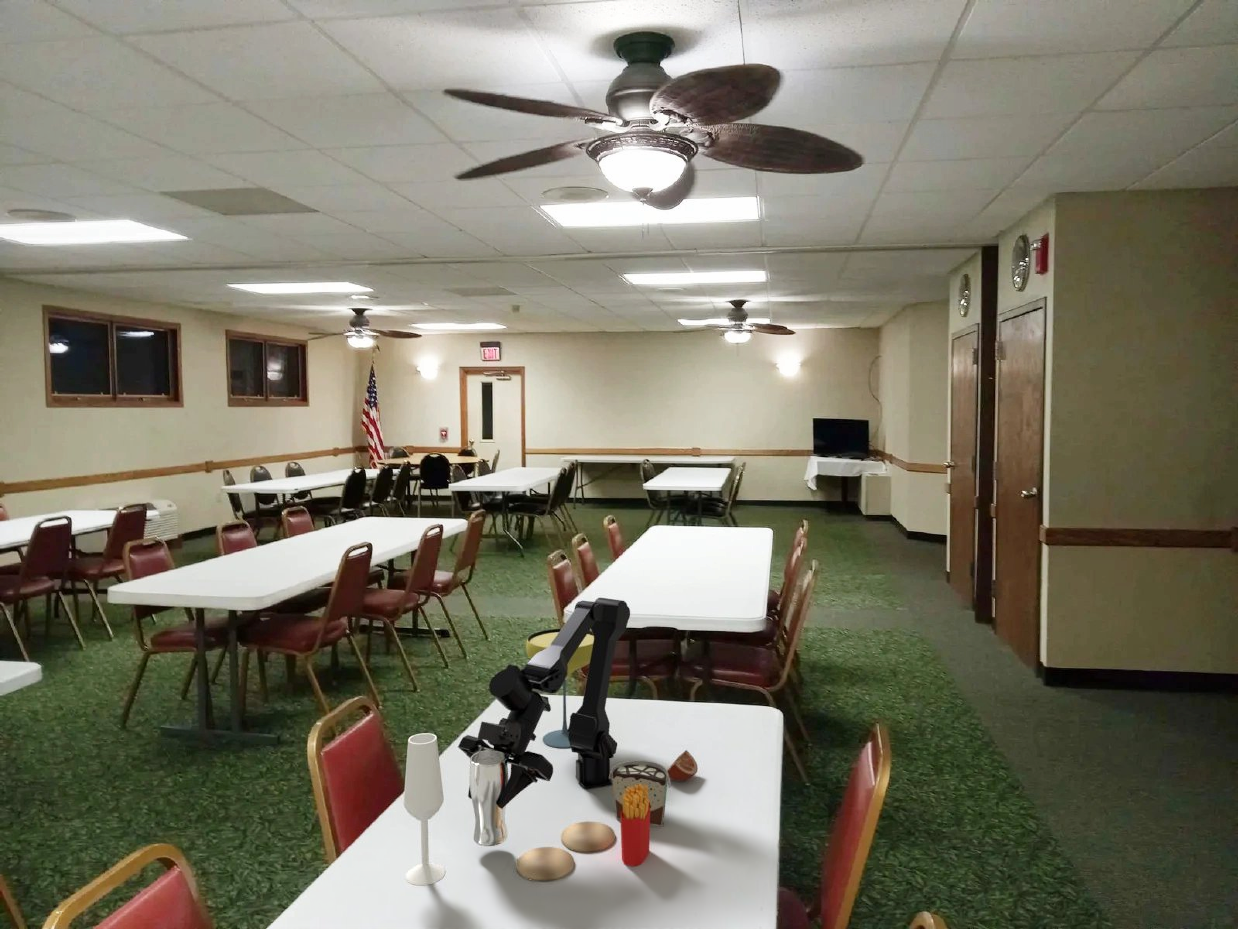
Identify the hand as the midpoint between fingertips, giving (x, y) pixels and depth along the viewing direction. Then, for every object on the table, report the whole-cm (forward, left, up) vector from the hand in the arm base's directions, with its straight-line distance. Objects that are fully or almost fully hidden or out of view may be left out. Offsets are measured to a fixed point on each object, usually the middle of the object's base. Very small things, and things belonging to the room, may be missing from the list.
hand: (484, 802), depth 148 cm
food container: (-32, -3, -10) cm, 34 cm away
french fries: (-25, +10, -10) cm, 29 cm away
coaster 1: (-9, +7, -10) cm, 15 cm away
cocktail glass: (-29, -45, -10) cm, 54 cm away
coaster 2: (-19, +1, -10) cm, 21 cm away
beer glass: (-1, -1, -7) cm, 7 cm away
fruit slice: (-46, -15, -10) cm, 49 cm away
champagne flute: (+11, +2, -10) cm, 15 cm away
